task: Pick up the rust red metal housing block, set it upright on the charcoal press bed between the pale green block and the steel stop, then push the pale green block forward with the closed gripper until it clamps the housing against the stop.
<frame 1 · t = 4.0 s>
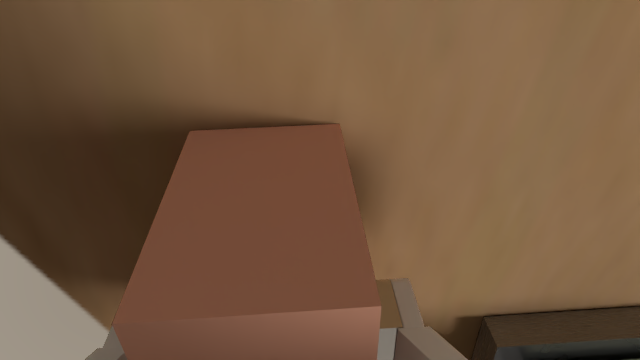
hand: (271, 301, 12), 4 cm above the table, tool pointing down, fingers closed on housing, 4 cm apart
housing: (274, 217, 15), on the table, touching gripper
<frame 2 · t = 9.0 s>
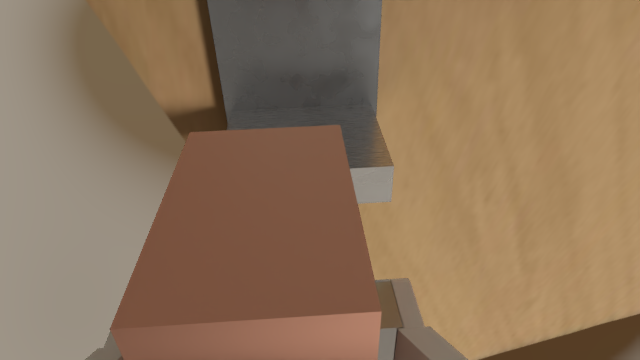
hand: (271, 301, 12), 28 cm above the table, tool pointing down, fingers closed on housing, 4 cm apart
housing: (274, 219, 15), point 24 cm above the table, touching gripper
when the fingers open (7 cm above the table, at t = 13.7 s): housing drops 1 cm, resting on press bed.
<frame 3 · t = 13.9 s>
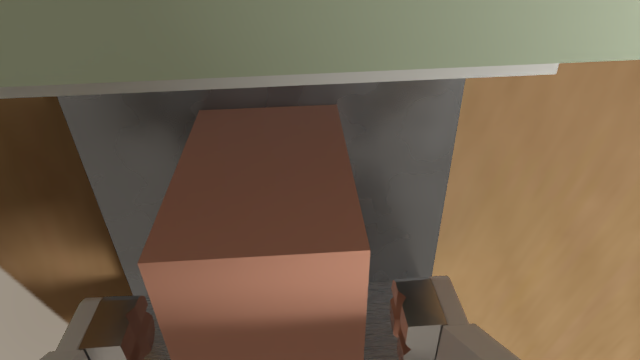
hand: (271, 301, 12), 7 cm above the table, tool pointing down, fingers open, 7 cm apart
housing: (276, 194, 16), point 1 cm above the table, touching press bed
press bed: (264, 49, 15), on the table
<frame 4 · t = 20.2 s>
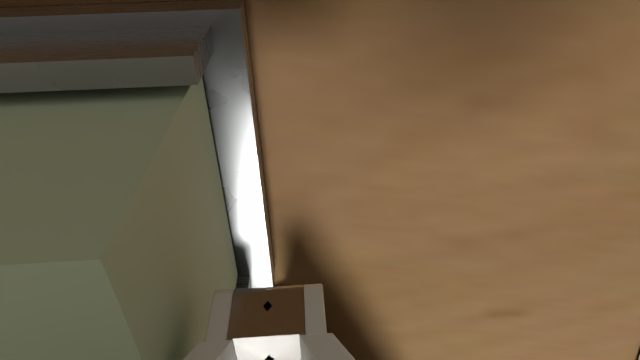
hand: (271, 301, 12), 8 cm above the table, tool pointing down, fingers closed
pale green block: (9, 281, 13), point 6 cm above the table, slide at 0.5 cm, touching gripper
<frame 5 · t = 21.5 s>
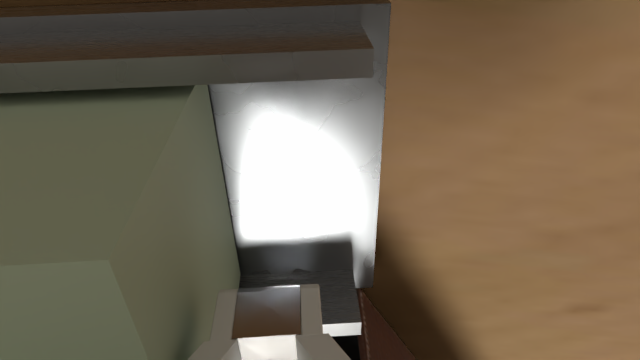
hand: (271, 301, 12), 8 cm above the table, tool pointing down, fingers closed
press bed: (17, 173, 18), on the table
pale green block: (13, 281, 13), point 6 cm above the table, slide at 5.1 cm, touching gripper, housing
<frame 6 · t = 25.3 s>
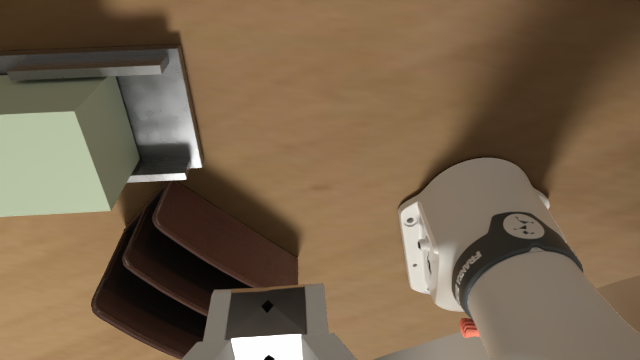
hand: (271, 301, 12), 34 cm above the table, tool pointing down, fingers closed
letter holder: (215, 241, 56), on the table
press bed: (45, 113, 44), on the table
pale green block: (47, 141, 39), point 6 cm above the table, slide at 5.2 cm, touching housing
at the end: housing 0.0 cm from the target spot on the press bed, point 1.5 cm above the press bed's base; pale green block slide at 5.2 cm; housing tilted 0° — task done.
